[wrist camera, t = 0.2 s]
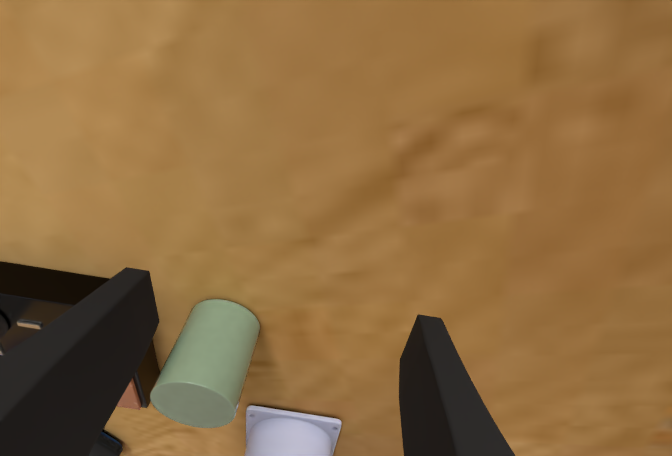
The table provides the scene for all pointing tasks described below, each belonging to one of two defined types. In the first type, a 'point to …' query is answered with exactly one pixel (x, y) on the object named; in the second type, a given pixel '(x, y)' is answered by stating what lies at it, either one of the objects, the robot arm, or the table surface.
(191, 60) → the table surface
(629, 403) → the table surface
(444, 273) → the table surface
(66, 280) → the warmer
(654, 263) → the table surface
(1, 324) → the dial
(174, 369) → the sage green cylinder
